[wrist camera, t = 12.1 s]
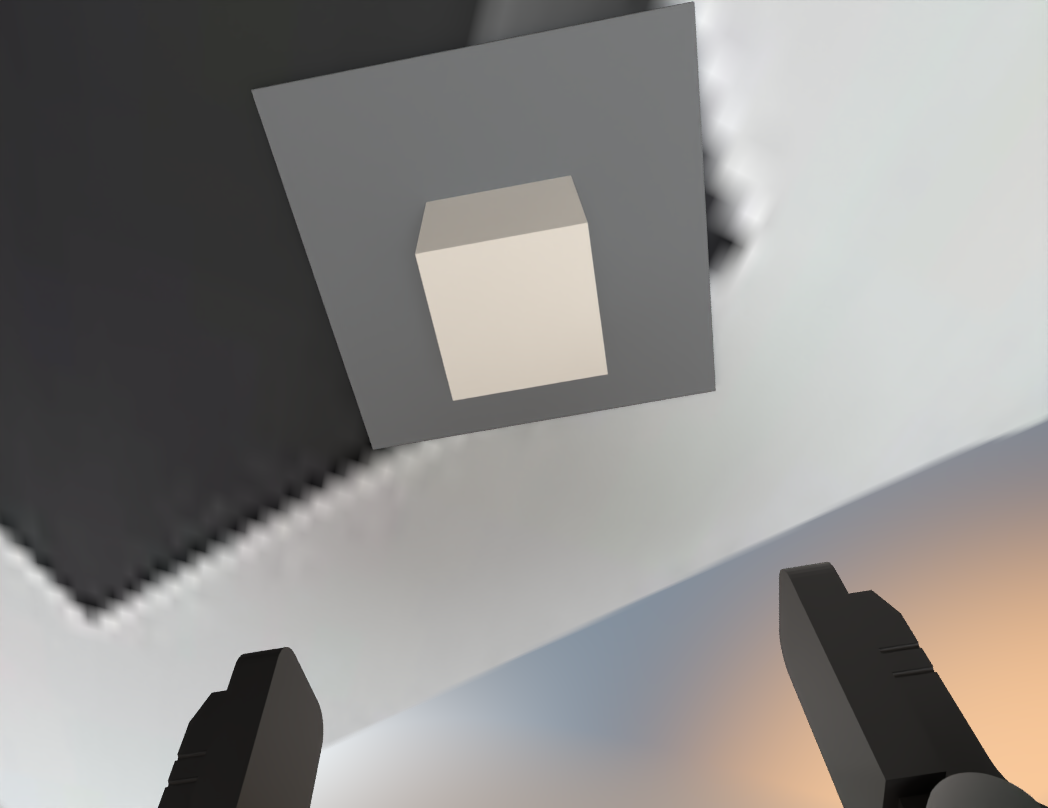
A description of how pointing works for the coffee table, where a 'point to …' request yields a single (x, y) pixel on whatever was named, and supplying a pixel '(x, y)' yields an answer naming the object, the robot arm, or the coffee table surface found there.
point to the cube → (512, 288)
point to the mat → (497, 162)
